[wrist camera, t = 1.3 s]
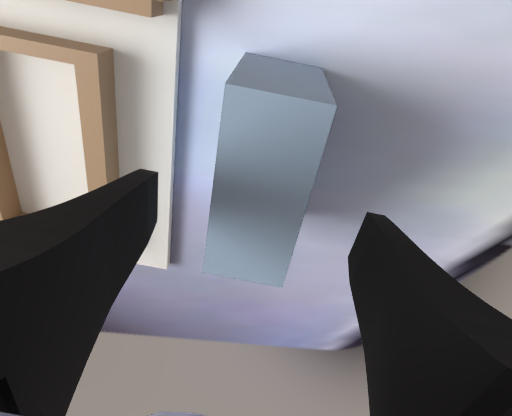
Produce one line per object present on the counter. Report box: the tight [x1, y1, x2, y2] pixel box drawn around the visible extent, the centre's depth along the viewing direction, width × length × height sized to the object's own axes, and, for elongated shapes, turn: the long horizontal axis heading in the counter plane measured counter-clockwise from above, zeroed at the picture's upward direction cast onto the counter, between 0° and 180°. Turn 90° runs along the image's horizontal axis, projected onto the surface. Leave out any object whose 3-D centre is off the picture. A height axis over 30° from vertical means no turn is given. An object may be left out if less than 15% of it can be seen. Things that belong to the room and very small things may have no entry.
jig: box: [0, 0, 182, 269], centre depth 16 cm, size 21×13×2 cm, turn 170°
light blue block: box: [202, 53, 337, 288], centre depth 15 cm, size 8×4×6 cm, turn 170°
